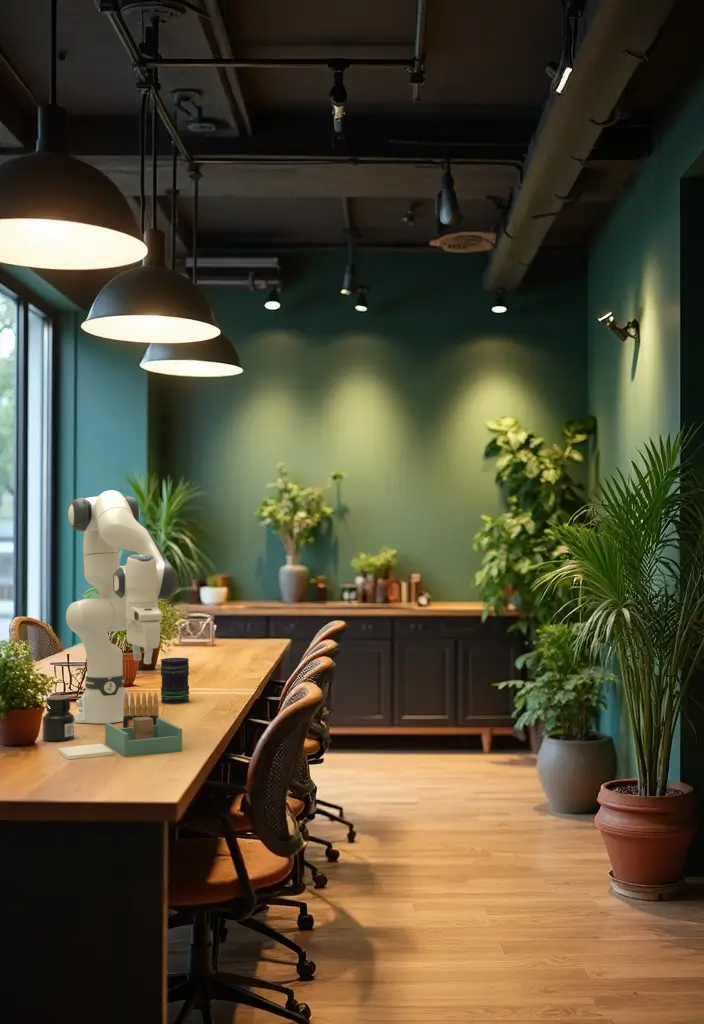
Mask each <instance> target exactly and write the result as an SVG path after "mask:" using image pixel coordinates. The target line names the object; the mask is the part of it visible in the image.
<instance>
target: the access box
mask: <svg viewBox="0 0 704 1024" xmlns="http://www.w3.org/2000/svg"><path fill="white" fill-rule="evenodd" d="M156 724H157V725H153V738H150V739H140V740H133V727H130V726H129V728H123V727H121V728H119V727H117V726H116V725H114V724H112V723H109V722H107V723H104V743H105V744H104V745H105V746H107V747H108V748H111V750H113V751H115V752H117V753H118V754H120V755H121V756H123V757H124V758H125V757H136V756H145V755H154V754H163V753H165V754H166V753H171V752H183V728H181V727H180V726H177V725H175V724H174V723H172V722H169V721H168V720H165V719H163V718H162V717H159V718H156Z"/></svg>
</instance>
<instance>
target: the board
mask: <svg viewBox="0 0 704 1024" xmlns="http://www.w3.org/2000/svg"><path fill="white" fill-rule="evenodd" d="M57 748H58V749H57V750H58V751H57V752H58V753H59V754H60V755H62V756H63V757H65V758H66V759H67V760H79V759H89V758H96V757H105V756H114V750H113V749H112V748H111V749H110V747H109V746H107V745H106V744H103V743H94V744H85V745H75V746H65V747H64V746H63V747H57Z"/></svg>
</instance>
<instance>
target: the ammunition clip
mask: <svg viewBox="0 0 704 1024" xmlns="http://www.w3.org/2000/svg"><path fill="white" fill-rule="evenodd" d="M146 697H147V698H146ZM152 697H153V699H152ZM135 698H136V700H135ZM129 706H130V715H129ZM159 709H160V708H159V697H158V693H157V691H155V692H154V695H153V696H152V693H151V692H149V693H148V696H146V693H145V692H143V693H142V698H141V695H140V693H139V692H137V693H136V697H135V696H134V693H133V692H131V694H130V696H129V705H128V695H127V693H125V697H124V716H123V721H122V728H129V727H133V718H140V717H150V718H152V719H153V725H157V724H156V718H160V715H159V711H160V710H159Z"/></svg>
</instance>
